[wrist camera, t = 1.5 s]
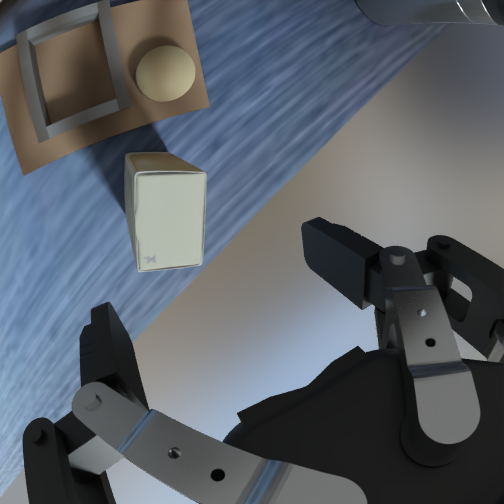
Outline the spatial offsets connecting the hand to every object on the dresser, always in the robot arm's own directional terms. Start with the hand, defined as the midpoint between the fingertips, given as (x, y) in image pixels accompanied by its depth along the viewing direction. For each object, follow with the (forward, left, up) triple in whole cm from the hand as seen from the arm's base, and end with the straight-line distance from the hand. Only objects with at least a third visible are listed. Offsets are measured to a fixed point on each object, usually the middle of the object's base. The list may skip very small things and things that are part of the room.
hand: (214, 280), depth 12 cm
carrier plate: (+2, -11, -19) cm, 22 cm away
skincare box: (0, 0, -20) cm, 20 cm away
